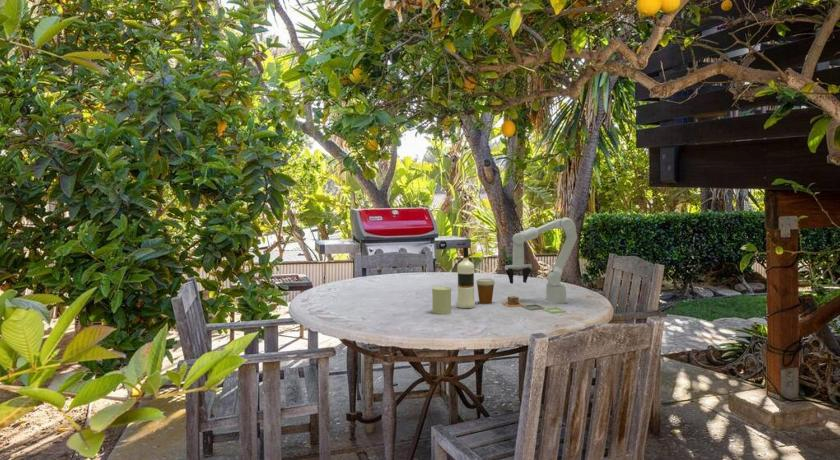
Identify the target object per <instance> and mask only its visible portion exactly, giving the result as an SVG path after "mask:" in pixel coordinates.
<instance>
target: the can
mask: <svg viewBox="0 0 840 460" xmlns="http://www.w3.org/2000/svg"><path fill="white" fill-rule="evenodd" d="M431 289H432V311H431V312H432V313H433V314H437V315H446V314H451V313H452V287H450V286H434V287H432V288H431Z"/></svg>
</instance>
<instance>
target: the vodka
mask: <svg viewBox="0 0 840 460" xmlns="http://www.w3.org/2000/svg"><path fill="white" fill-rule="evenodd" d="M456 269H457V272H456V273H457V298H456V307H458V308H459V309H462V310H463V309H467V310H468V309H473V308H475V307H476V300H475V265H474V263H473V262H472V261H470V260H469V247H468V246H463V247H462V260H461V261H460V262H459V263H458V264H457V266H456Z"/></svg>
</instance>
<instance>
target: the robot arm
mask: <svg viewBox="0 0 840 460" xmlns="http://www.w3.org/2000/svg"><path fill="white" fill-rule="evenodd" d="M576 228H577V227H576V223H574V221H573V219H571V218H569V217H565V216H564V217H562V218H557V219H554V220H552V221H550V222H548V223H545V224H543V225H541V226H539V227H535V226H532V227H531V226H528V228H527V229H525V230H520V231H519V232H517V233H515V234H514V235H513V236H512V239H511V240H512V242H513V243H512V264H509V265H508V264H507V265H504V270H505V273H506V274H507V277H508V280H509V284H513V285H514V275H515V271H514V270H521V271H522V281H523V283H527V281H528V277H529V275H530V273H531V271H532V269H533V268H532V267H533V265H532V264H530V263H528V264H525V247H524V244H525V242H530V241H532V240H534V239H537V238H538V237H539V235H541V234H542V233H543V234H544V233H546V232H548V231H551V230H554V229H557V230H562V231H563V232H564V234H565V237H566V238H565V241H564V243H563V245H562V247H561V250H560V252H559V254H558V256H557V259H556V260H555V263H554V265H553V267H552V268H551V270H550V271H549V272H548V273H547V274H546V280H547V283H546V289H545V290H546V293H545V294H546V295H545V297H546V299H545V300H543V302H544V303H547V304H550V305H556V304H567V289H566V286H565V285H564V284H561V281H562V275H563V270H564V268H565V266H566V264H567V261H568V259H569V257H570V255H571V253H572V251H573V248H574V246H575V244H576V242H577V240H578V234H577V229H576Z"/></svg>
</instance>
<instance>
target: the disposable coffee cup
mask: <svg viewBox="0 0 840 460" xmlns="http://www.w3.org/2000/svg"><path fill="white" fill-rule="evenodd" d="M475 283H476V286H477V287H476V288H477V294H478V295H477V296H478V302H479V303H478V304H483V305H485V304H486V305H488V304H492V302H493V295H494V289H495V283H496V282H495V280H494V279H493V278H477V280H476V282H475Z"/></svg>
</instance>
